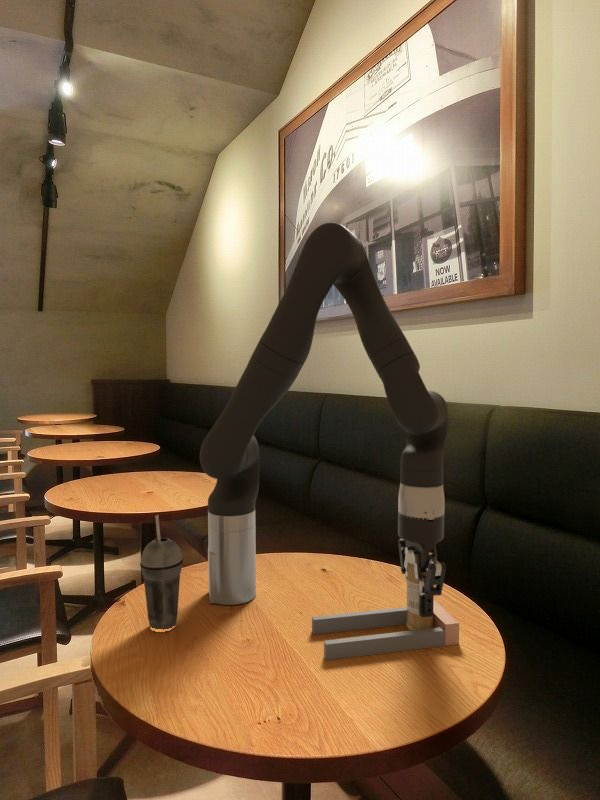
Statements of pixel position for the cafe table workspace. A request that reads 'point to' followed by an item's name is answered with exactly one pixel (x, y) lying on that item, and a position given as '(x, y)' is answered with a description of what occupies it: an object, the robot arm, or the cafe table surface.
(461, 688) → the cafe table surface
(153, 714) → the cafe table surface
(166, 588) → the beverage cup
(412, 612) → the sprinkles bottle
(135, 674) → the cafe table surface
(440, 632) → the guide channel
